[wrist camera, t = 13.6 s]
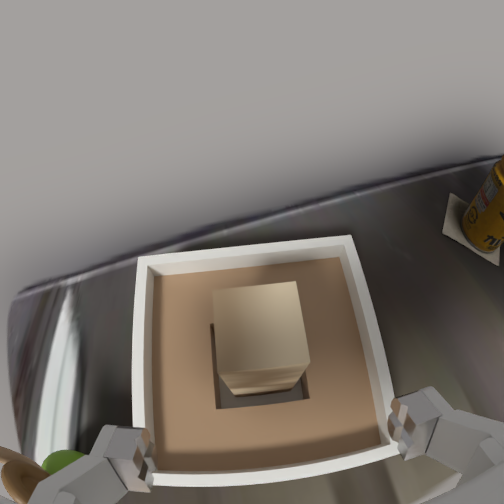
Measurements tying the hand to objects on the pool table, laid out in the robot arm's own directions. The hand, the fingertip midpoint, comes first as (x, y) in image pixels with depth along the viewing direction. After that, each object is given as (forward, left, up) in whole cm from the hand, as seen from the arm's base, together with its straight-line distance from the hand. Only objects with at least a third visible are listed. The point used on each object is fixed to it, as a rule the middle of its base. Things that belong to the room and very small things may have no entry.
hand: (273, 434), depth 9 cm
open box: (0, -5, -14) cm, 14 cm away
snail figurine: (+15, +4, -14) cm, 21 cm away
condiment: (-27, -16, -14) cm, 34 cm away
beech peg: (0, -5, -13) cm, 14 cm away
